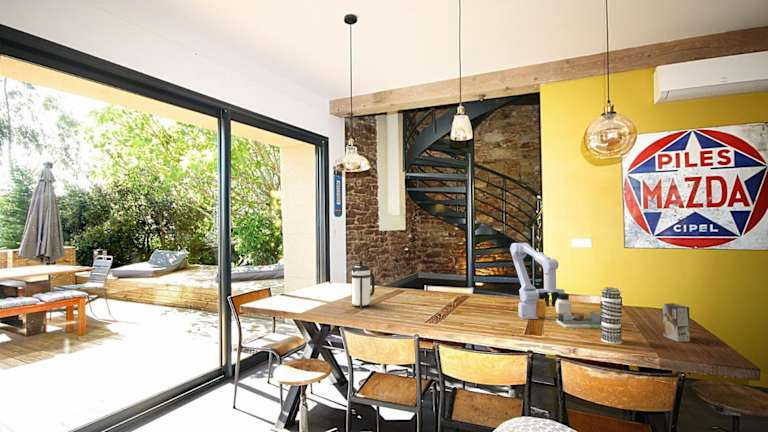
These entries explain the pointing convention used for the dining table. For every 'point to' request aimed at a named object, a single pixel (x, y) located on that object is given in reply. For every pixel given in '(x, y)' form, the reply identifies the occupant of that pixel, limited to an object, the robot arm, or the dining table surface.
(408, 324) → the dining table surface
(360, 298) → the coffee press
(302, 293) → the dining table surface
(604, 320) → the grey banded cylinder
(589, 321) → the scale board
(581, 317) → the marker
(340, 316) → the dining table surface
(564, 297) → the medicine bottle
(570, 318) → the plunger
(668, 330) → the coffee box
